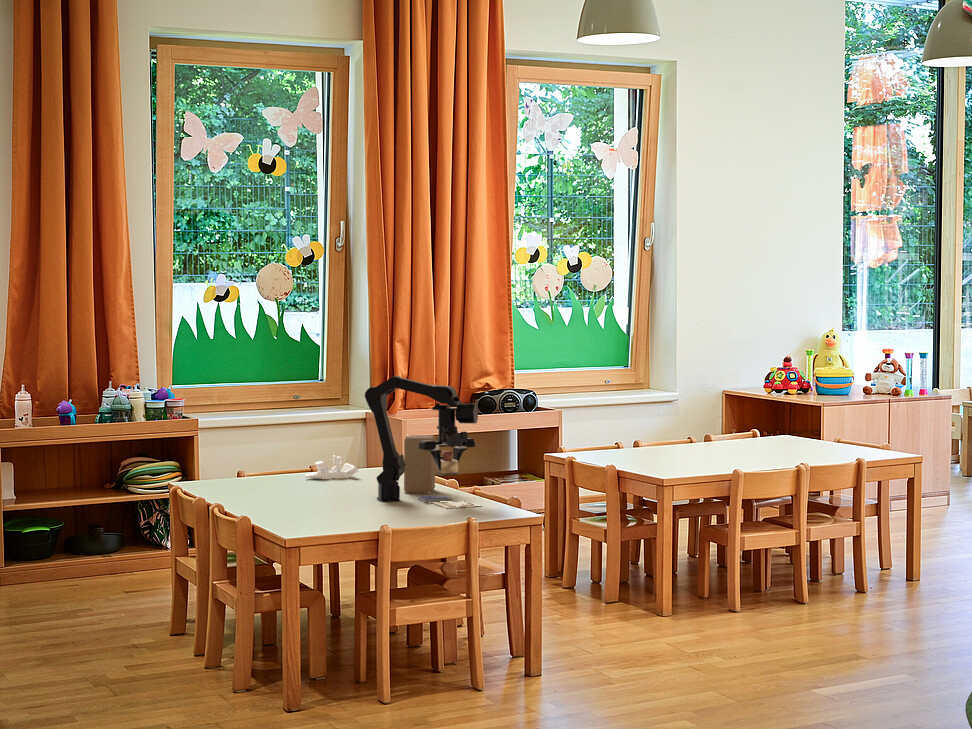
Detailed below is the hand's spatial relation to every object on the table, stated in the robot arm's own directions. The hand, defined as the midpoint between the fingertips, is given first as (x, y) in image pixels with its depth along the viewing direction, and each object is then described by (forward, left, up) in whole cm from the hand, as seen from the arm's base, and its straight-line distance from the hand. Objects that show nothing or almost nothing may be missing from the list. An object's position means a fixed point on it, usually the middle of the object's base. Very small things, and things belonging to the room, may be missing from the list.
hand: (447, 469), depth 386 cm
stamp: (0, 0, -2) cm, 2 cm away
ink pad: (-2, +5, -12) cm, 13 cm away
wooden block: (+1, +27, -12) cm, 30 cm away
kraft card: (+2, -5, -12) cm, 13 cm away
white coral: (-20, +71, -12) cm, 74 cm away
